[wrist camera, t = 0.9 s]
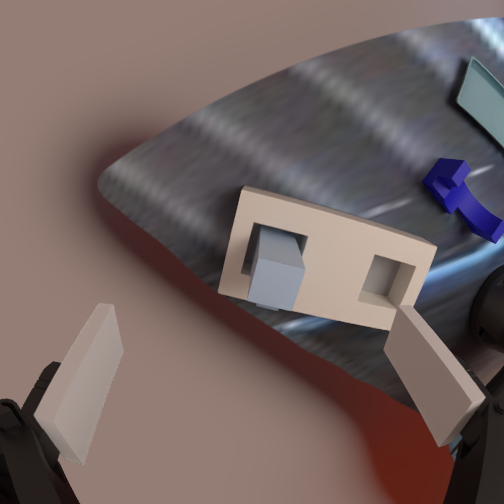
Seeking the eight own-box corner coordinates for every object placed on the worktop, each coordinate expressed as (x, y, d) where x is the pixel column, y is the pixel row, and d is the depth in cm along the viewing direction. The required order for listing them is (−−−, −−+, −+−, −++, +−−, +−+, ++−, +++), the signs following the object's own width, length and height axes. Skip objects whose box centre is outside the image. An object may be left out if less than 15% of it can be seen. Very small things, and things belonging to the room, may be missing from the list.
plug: (293, 233, 36) (305, 269, 25) (283, 269, 38) (289, 318, 26) (261, 224, 36) (258, 257, 25) (251, 261, 38) (244, 308, 26)
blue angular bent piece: (421, 181, 35) (444, 187, 29) (439, 158, 33) (464, 160, 28) (466, 239, 36) (489, 252, 31) (482, 217, 35) (506, 227, 30)
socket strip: (419, 236, 37) (437, 247, 32) (388, 314, 40) (400, 332, 36) (245, 185, 36) (241, 189, 31) (223, 276, 40) (217, 292, 35)
